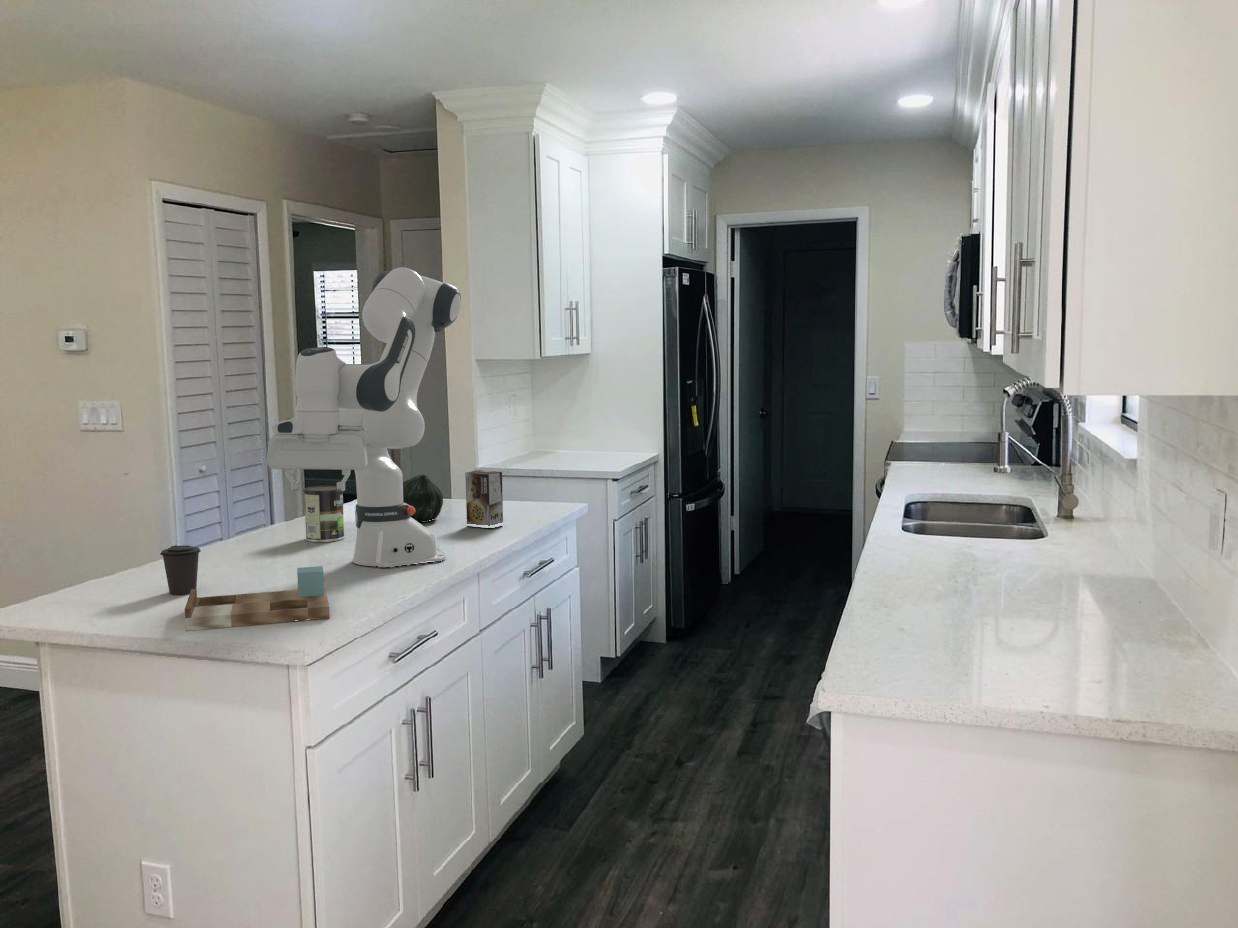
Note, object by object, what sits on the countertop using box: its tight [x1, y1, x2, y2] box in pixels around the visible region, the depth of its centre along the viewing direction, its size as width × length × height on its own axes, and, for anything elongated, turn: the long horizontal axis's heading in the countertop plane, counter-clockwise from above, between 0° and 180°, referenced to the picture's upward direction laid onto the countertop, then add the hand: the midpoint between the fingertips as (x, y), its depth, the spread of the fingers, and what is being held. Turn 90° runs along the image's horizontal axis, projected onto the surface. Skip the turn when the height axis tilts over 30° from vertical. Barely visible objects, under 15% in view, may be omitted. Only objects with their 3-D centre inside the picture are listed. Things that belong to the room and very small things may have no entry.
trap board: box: [184, 587, 331, 632], centre depth 202 cm, size 26×16×4 cm, turn 109°
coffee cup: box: [159, 544, 202, 596], centre depth 219 cm, size 8×8×10 cm
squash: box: [403, 473, 444, 522], centre depth 304 cm, size 14×15×15 cm
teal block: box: [296, 565, 325, 597], centre depth 208 cm, size 5×5×5 cm
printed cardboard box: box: [464, 469, 504, 526], centre depth 295 cm, size 9×6×16 cm
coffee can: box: [303, 485, 345, 543], centre depth 277 cm, size 10×10×14 cm
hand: (318, 490), depth 213 cm, fingers open, 8 cm apart
